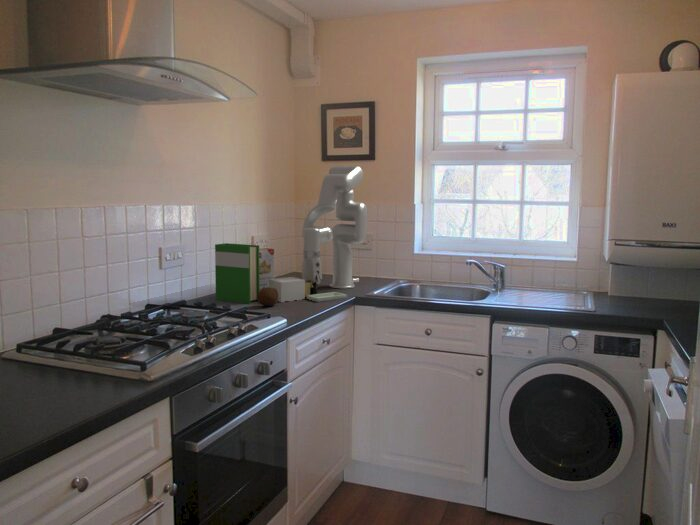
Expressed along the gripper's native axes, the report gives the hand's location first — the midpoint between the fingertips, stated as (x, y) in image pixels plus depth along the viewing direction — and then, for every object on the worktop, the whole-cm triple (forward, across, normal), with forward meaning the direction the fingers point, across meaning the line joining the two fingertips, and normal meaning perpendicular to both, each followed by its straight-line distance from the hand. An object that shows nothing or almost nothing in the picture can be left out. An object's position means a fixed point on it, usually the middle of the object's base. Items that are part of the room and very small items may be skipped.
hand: (311, 294), depth 258 cm
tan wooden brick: (+1, 0, +4) cm, 4 cm away
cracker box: (+1, +18, +17) cm, 24 cm away
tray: (+1, -10, -2) cm, 10 cm away
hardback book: (+1, +10, +32) cm, 33 cm away
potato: (+1, -10, +28) cm, 30 cm away
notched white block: (+1, 0, +13) cm, 13 cm away
